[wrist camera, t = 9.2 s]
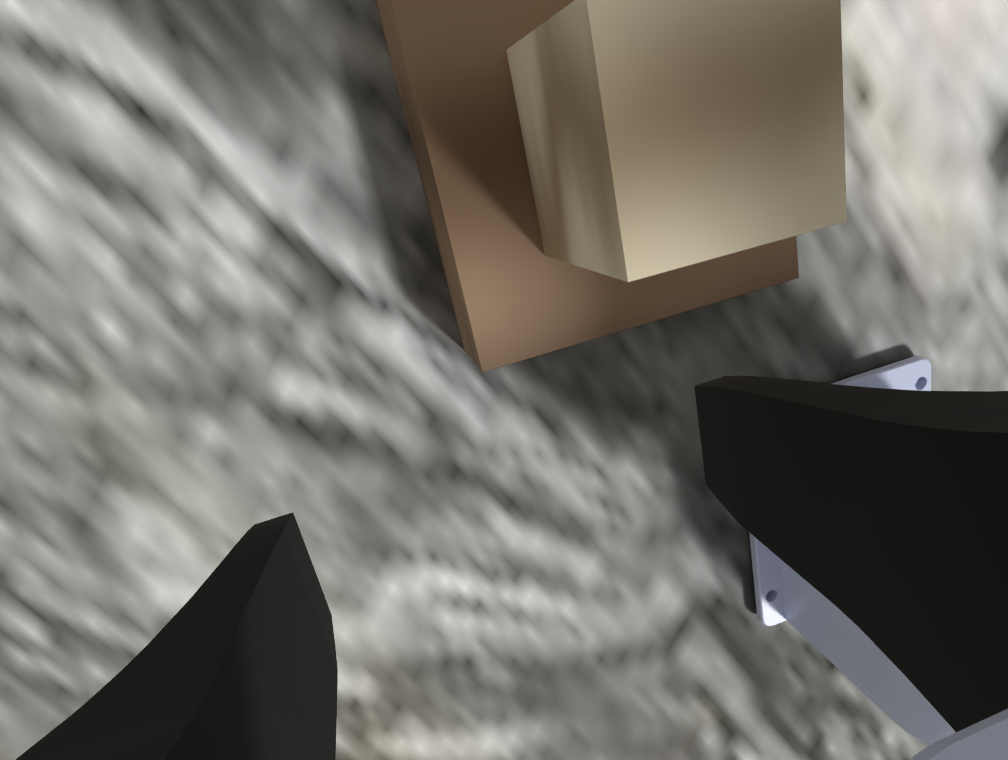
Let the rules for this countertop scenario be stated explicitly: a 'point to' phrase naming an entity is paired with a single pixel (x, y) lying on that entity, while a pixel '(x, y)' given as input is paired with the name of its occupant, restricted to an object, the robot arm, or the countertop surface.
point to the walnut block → (519, 195)
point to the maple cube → (681, 128)
